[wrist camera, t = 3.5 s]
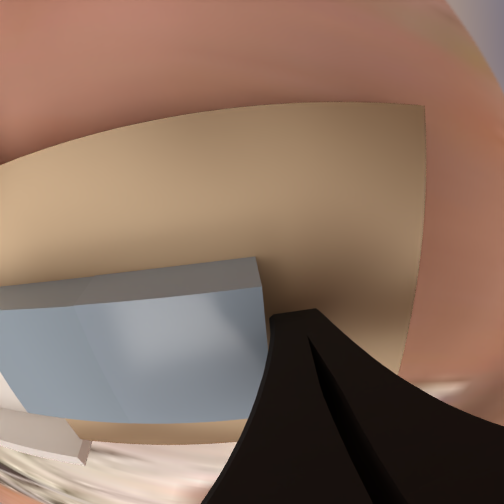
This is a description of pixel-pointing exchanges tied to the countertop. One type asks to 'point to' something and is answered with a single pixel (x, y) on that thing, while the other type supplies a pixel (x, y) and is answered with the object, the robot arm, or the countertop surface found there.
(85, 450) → the tray
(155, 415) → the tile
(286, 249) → the board
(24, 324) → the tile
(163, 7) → the countertop surface
